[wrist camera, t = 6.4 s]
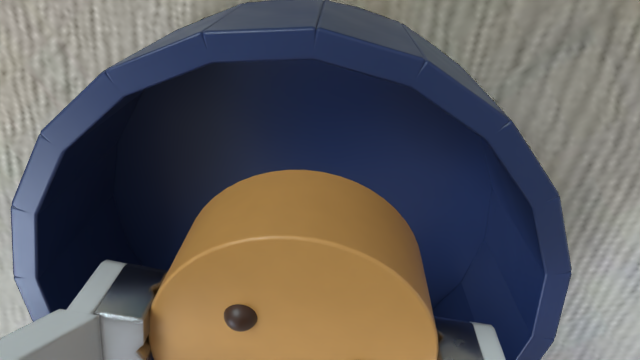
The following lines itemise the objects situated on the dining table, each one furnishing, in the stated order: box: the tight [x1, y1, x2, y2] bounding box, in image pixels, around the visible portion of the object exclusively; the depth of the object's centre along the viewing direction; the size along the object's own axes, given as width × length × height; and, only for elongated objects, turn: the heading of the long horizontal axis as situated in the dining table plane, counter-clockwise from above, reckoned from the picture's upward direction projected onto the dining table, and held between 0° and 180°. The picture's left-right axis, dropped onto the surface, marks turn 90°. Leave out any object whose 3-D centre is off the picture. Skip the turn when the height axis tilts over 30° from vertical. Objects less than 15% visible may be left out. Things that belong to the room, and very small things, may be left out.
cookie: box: [148, 170, 439, 360], centre depth 11 cm, size 6×6×3 cm
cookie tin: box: [11, 0, 571, 360], centre depth 16 cm, size 15×15×6 cm
